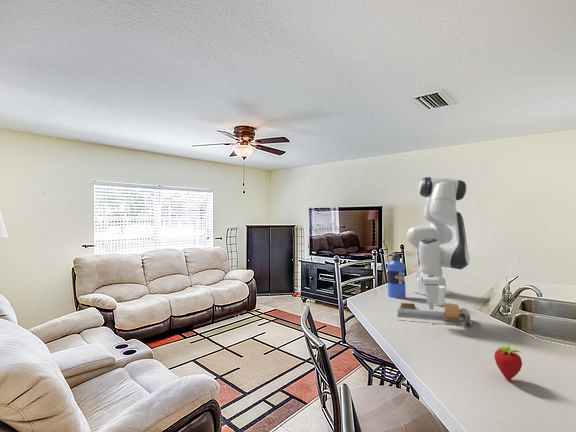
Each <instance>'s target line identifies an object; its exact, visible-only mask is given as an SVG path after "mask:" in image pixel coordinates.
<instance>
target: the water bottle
mask: <svg viewBox="0 0 576 432" xmlns="http://www.w3.org/2000/svg"><path fill="white" fill-rule="evenodd" d="M400 259H401V258H400V254H399V253H397V252H393V253H392V254H391V261H389V262H387V263H386V271H387V276H388V278H387V295H388V297H389V298H393V299H404V298H406V297H407V295H406V294H407V293H406V280H405V271H406V264H405V263H404V262H401V261H400Z"/></svg>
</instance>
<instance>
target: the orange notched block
mask: <svg viewBox="0 0 576 432" xmlns="http://www.w3.org/2000/svg"><path fill="white" fill-rule="evenodd" d="M443 306H444V309H443V310H444V312H445V317H448V318H459V313H460V307H459V304H458V303H450V302H449V303H447V302H444V305H443Z"/></svg>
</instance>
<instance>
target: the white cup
mask: <svg viewBox="0 0 576 432" xmlns="http://www.w3.org/2000/svg"><path fill="white" fill-rule="evenodd" d="M444 303H446V295H445V286H441V285H439V289H438V301H437V303H436V304H434V307H435V306H437V307H438V306H440V307H442V306H444Z"/></svg>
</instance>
